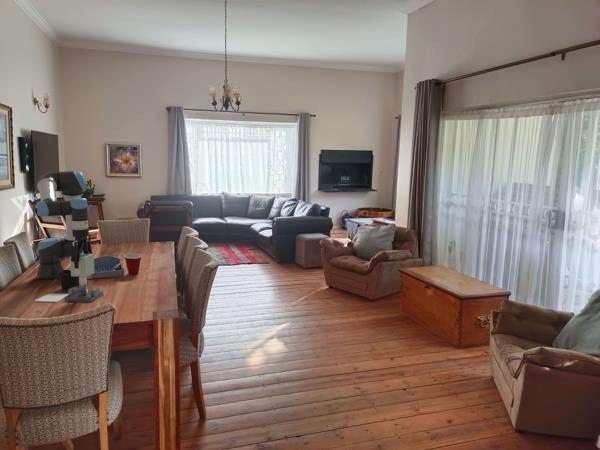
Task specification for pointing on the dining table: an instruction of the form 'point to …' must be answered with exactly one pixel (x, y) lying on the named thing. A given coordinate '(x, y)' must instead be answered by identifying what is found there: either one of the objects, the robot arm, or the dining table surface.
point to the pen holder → (68, 280)
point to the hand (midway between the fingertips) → (82, 272)
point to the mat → (51, 298)
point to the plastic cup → (133, 263)
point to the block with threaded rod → (83, 293)
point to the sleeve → (84, 265)
